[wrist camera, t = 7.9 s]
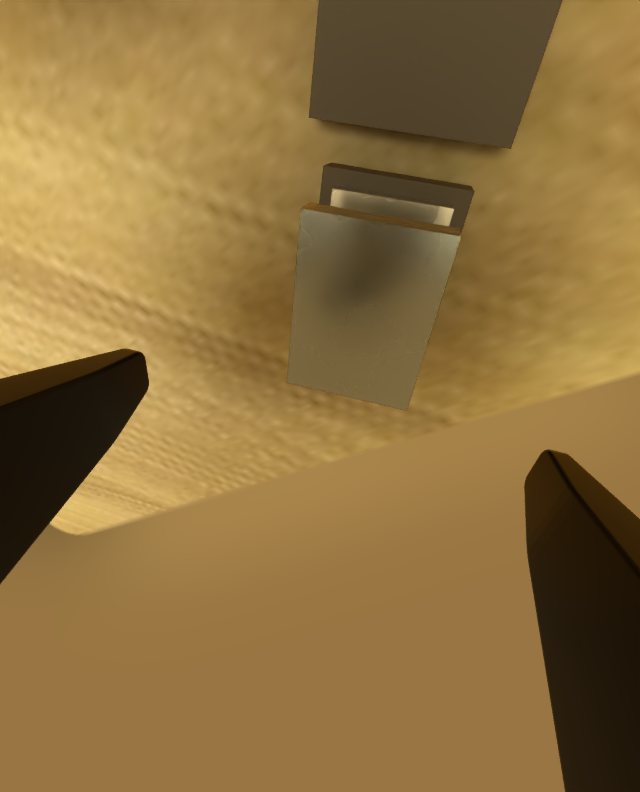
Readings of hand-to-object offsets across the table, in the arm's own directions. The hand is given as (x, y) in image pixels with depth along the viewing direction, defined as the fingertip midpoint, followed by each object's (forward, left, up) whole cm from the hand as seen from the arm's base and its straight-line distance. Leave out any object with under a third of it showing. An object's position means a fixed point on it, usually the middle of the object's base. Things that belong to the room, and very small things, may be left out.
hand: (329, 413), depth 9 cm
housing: (0, 0, -10) cm, 10 cm away
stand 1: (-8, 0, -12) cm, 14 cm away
